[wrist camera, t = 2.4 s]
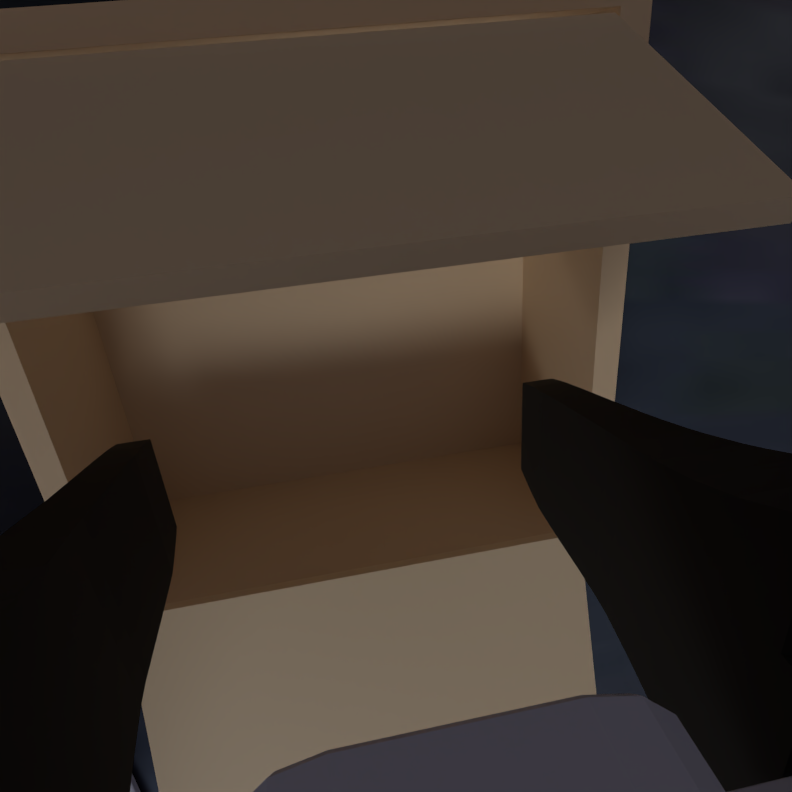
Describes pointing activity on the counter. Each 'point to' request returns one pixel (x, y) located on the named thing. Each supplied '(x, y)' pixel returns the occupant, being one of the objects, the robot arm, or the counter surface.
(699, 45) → the counter surface
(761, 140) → the counter surface
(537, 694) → the flap
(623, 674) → the counter surface
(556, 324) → the cardboard box
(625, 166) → the flap
